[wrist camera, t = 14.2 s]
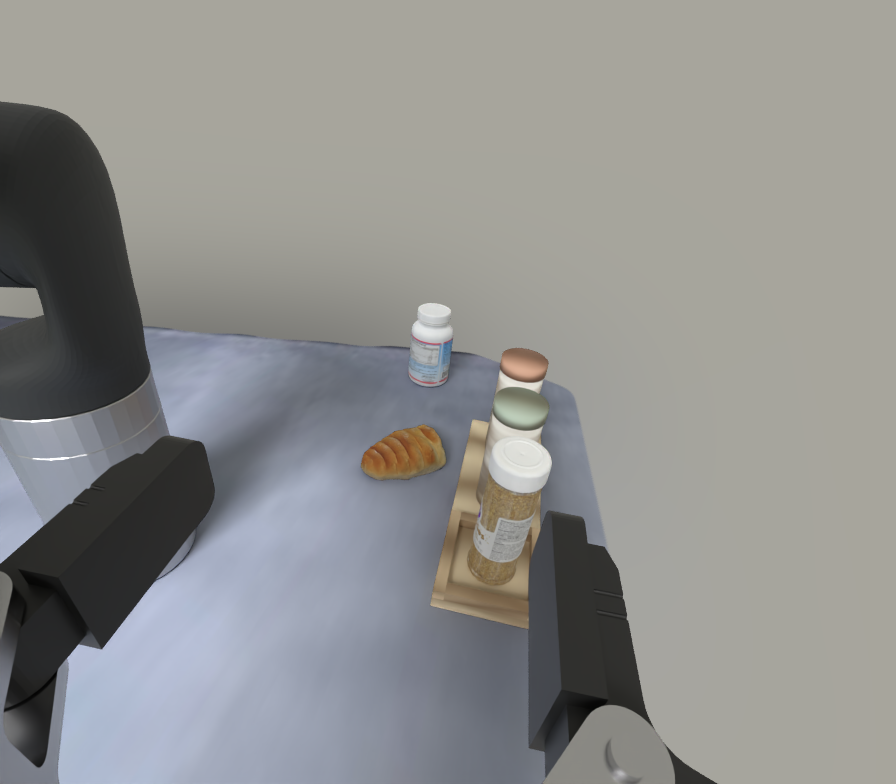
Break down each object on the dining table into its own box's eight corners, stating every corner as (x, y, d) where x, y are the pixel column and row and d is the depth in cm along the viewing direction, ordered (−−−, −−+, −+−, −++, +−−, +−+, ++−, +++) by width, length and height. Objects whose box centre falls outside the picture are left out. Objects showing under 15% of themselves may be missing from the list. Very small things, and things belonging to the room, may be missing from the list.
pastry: (376, 496, 48) (377, 469, 46) (350, 458, 53) (350, 432, 51) (449, 469, 53) (453, 444, 51) (420, 436, 57) (422, 412, 55)
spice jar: (464, 543, 42) (488, 431, 35) (511, 545, 43) (545, 435, 36) (468, 587, 39) (497, 472, 31) (520, 589, 39) (560, 476, 32)
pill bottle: (433, 364, 73) (441, 298, 67) (455, 383, 69) (465, 314, 63) (400, 372, 70) (405, 303, 63) (421, 392, 66) (428, 321, 59)
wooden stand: (536, 631, 37) (581, 519, 30) (430, 605, 38) (449, 491, 31) (538, 440, 59) (565, 348, 52) (471, 426, 60) (488, 334, 53)
